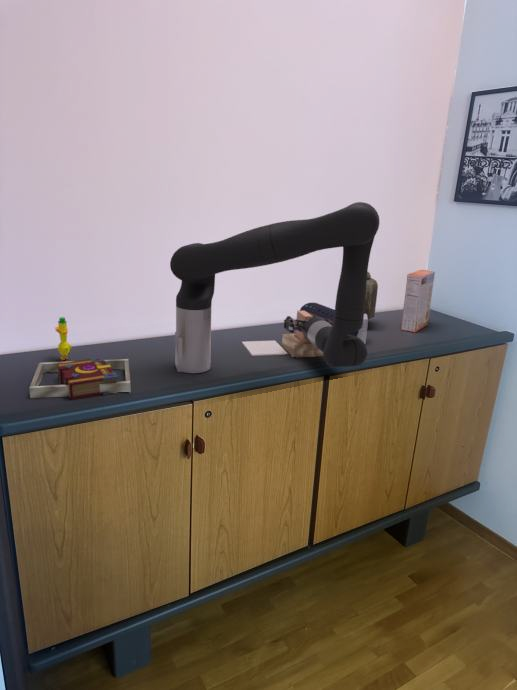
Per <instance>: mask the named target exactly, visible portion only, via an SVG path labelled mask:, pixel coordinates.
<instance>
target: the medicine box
mask: <svg viewBox="0 0 517 690" xmlns="http://www.w3.org/2000/svg"><path fill="white" fill-rule="evenodd" d="M368 323H369V319H368V317H367V314H364V318H363V325H362V328H361V329H360V330H359V331H358V334H357V336H356V337H358V338H359V339H361V340H362V341H363V342H364V344H365V345H366V343H367V334H368V325H369V324H368Z"/></svg>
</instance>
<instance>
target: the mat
mask: <svg viewBox="0 0 517 690" xmlns="http://www.w3.org/2000/svg"><path fill="white" fill-rule="evenodd" d="M241 343H242V345H243V346H244V348H245V350H247V352H248V353H249V354H250V355H251V356H252V357H258V356H259V357H261V356H282V355H283V356H284V355H285V356H286V354H287V355H288V354H289V353H288V352H287V351H286V350H285V349H284V348H283V347H282V345H280V344H279V343H278V342H277V341H276V340H250V341H241Z"/></svg>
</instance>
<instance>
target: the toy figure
mask: <svg viewBox="0 0 517 690" xmlns="http://www.w3.org/2000/svg"><path fill="white" fill-rule="evenodd" d="M57 322H58V325H57V326H56V327H54V329H55V332H56V333H58V334H59V338H60V343H59V344H58V346H57V352H58V353H59V354H60V355H61V357H59V359H62V360H65V359H68V360H69V358H68V357H69V353H70V352H71V350H72V345H71V344H69V341H68V340H67V339H68V338H67V337H68V332H69V331H68V330H69V329H68V327H67V322H68V321H67V320H66V317H61V316H60V317H59V320H58V321H57ZM64 358H65V359H64ZM62 360H61V361H62ZM65 361H66V360H65Z"/></svg>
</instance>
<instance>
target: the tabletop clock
mask: <svg viewBox="0 0 517 690" xmlns="http://www.w3.org/2000/svg"><path fill="white" fill-rule="evenodd" d="M378 286H379V285H378V282H377V280H375V279H374V278H372V276H371V273H370V272H369V271H367V284H366V300H365V310H364V314H367V317H368V320H371V319H372V318H374V317H375V313H376V309H377V308H376V306H377V299H378V289H379V287H378Z"/></svg>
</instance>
